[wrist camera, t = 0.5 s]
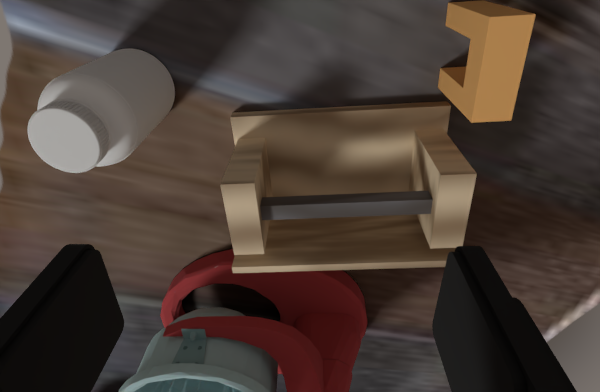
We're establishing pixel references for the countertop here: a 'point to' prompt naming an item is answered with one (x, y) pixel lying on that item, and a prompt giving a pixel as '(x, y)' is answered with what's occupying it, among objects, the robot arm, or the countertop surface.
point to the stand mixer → (256, 334)
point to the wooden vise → (346, 188)
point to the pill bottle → (101, 110)
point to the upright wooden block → (487, 59)
